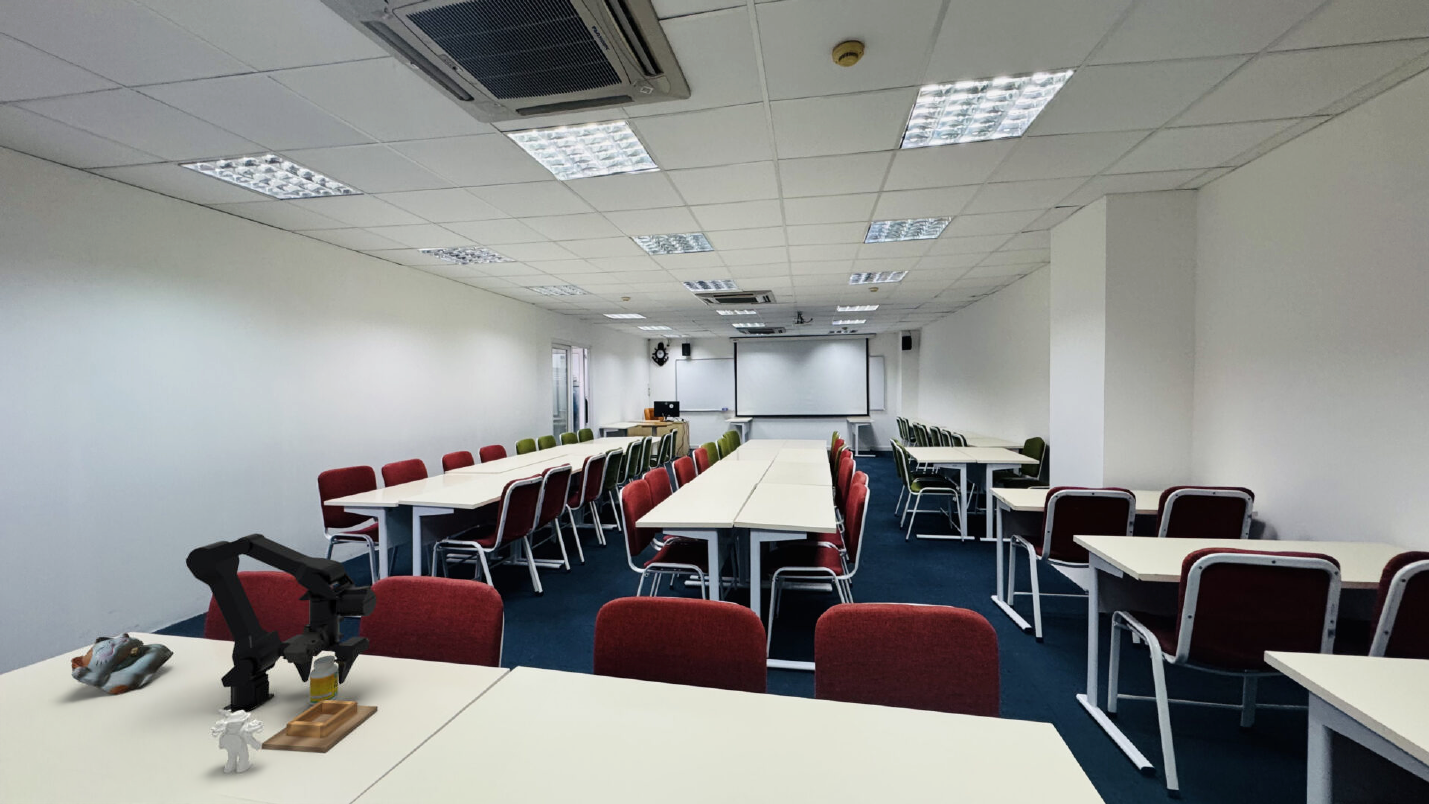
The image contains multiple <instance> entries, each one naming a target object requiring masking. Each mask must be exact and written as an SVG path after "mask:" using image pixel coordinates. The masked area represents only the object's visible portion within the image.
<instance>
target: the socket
mask: <svg viewBox="0 0 1429 804" xmlns="http://www.w3.org/2000/svg"><path fill="white" fill-rule="evenodd" d="M378 711H379V710H378V706H374V705H359V704H358V701H349V700H335V699H334V700H321V701H319V702H318V703H316V704H315V705H312V706H311V707H308V709H306V710H305V711H303V712H302V713H300V714H298V715H297V716H296V717H294V718H293V719H292V720H290V721H288V722H287V723H286V726H285V727H284V728H282V729H281V730H280V731H278V732H277V733H275V734H273V735H272V736H271V737H269V738H268V739H266V740H265V741H263V742H262V746H261V749H262V750H277V751H294V752H308V753H309V752H310V753H321V754H322V753H323V754H326V753H327V752H328V751H330V750H331V749H332V748H333V747H334V746H335V745H337V744H338V743H339V742H341V741H342V740H343V739H345V738H346V737H347V736H348V735H349V734H351V733H352V732H353V731H354V730H356V729H357V728H358V727H359V726H361V725H362V724H363V723H364V722H366V721H367V720H368V719H369V718H370V717H372V716H373V715H374V714H375V713H377V712H378Z"/></svg>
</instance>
